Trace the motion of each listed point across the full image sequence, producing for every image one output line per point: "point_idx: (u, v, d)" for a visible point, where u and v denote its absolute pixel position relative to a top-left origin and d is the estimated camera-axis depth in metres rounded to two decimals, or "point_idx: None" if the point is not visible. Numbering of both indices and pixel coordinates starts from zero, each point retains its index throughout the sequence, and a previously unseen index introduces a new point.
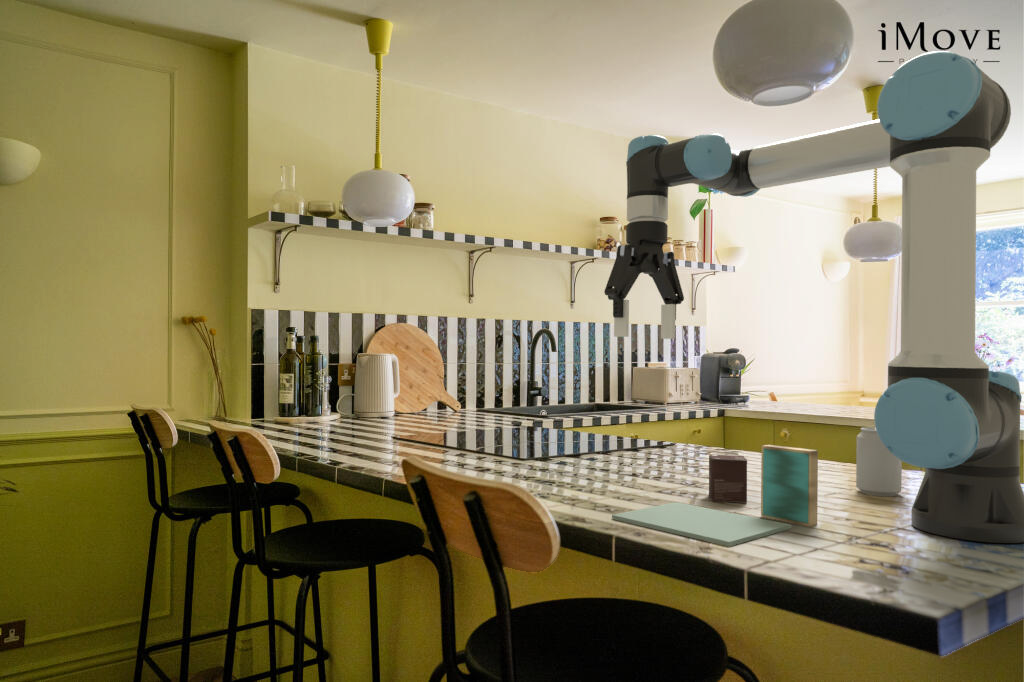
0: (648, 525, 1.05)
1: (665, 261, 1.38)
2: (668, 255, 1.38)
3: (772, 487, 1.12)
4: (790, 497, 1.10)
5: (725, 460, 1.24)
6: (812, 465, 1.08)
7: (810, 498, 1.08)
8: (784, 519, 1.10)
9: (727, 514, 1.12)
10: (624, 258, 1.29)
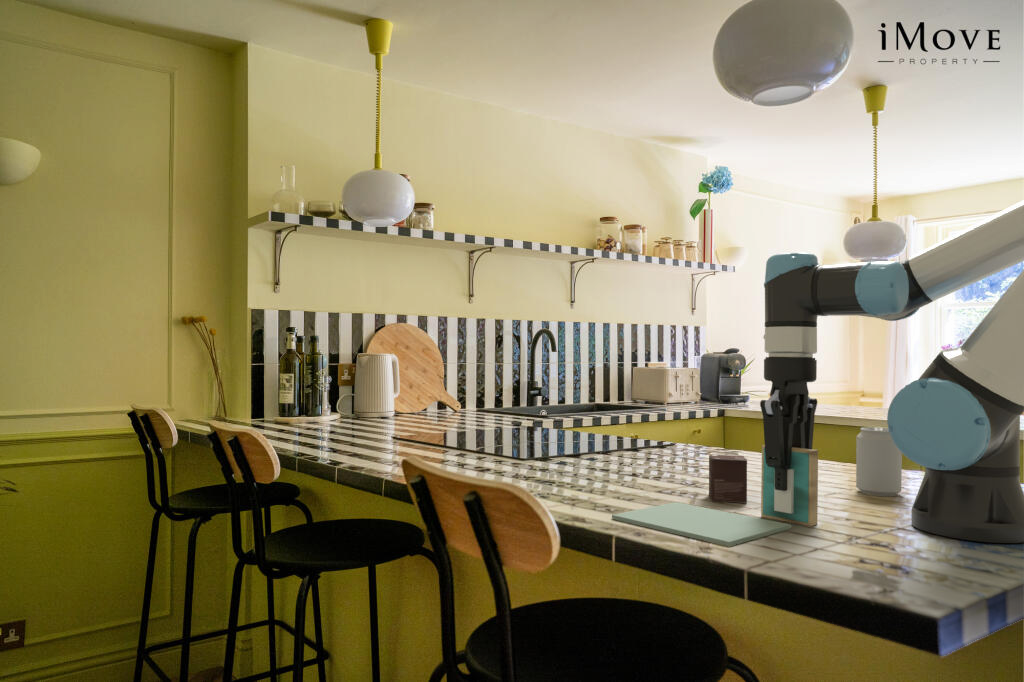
0: (648, 525, 1.05)
1: None
2: (811, 401, 1.14)
3: (772, 487, 1.12)
4: None
5: (725, 460, 1.24)
6: (812, 465, 1.08)
7: (810, 498, 1.08)
8: (784, 519, 1.10)
9: (727, 514, 1.12)
10: (775, 419, 1.07)
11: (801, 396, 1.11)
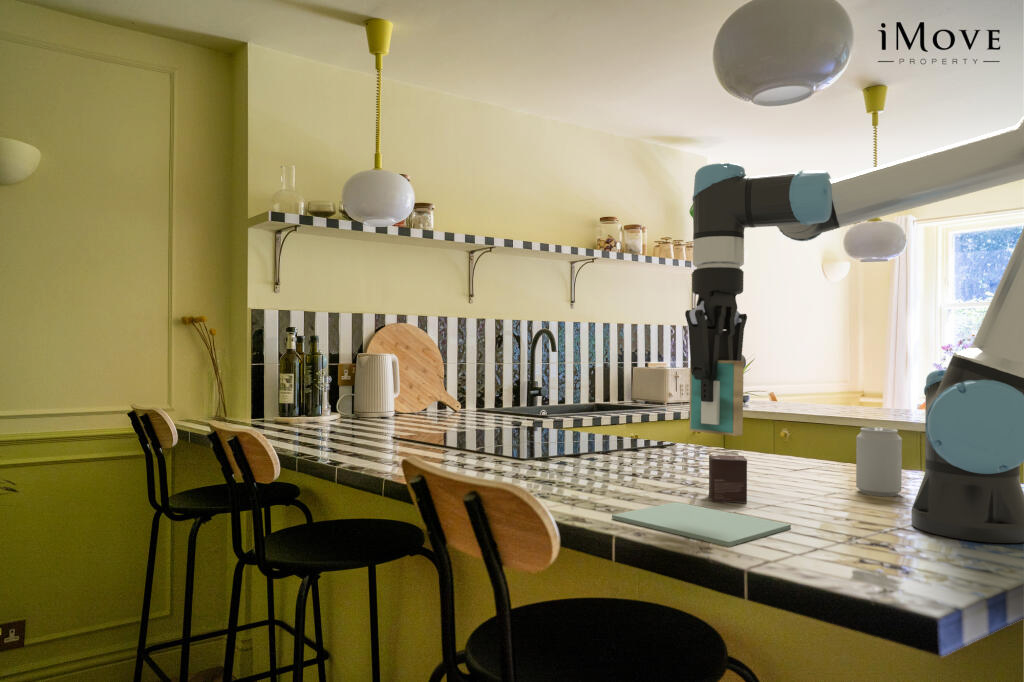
0: (648, 525, 1.05)
1: (735, 320, 1.13)
2: (740, 316, 1.14)
3: (699, 400, 1.12)
4: None
5: (725, 460, 1.24)
6: (736, 375, 1.07)
7: (735, 408, 1.07)
8: (710, 431, 1.10)
9: (727, 514, 1.12)
10: (700, 329, 1.07)
11: (728, 308, 1.10)
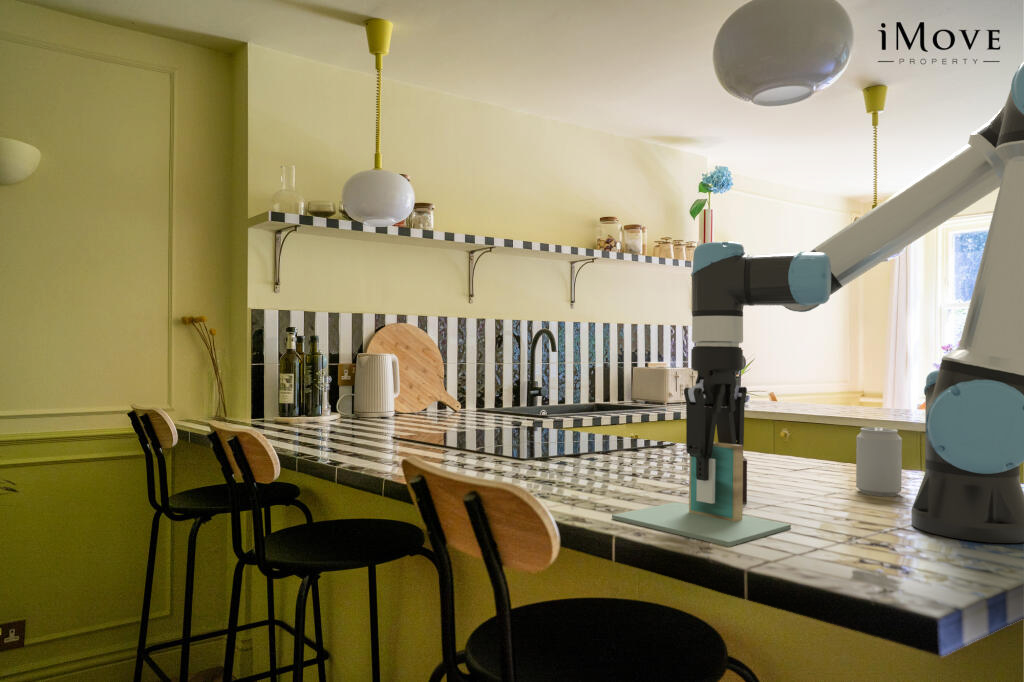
0: (648, 525, 1.05)
1: (735, 394, 1.13)
2: (740, 389, 1.14)
3: None
4: (716, 492, 1.09)
5: None
6: (736, 460, 1.07)
7: (734, 493, 1.07)
8: (710, 514, 1.10)
9: None
10: (697, 407, 1.06)
11: (727, 386, 1.10)
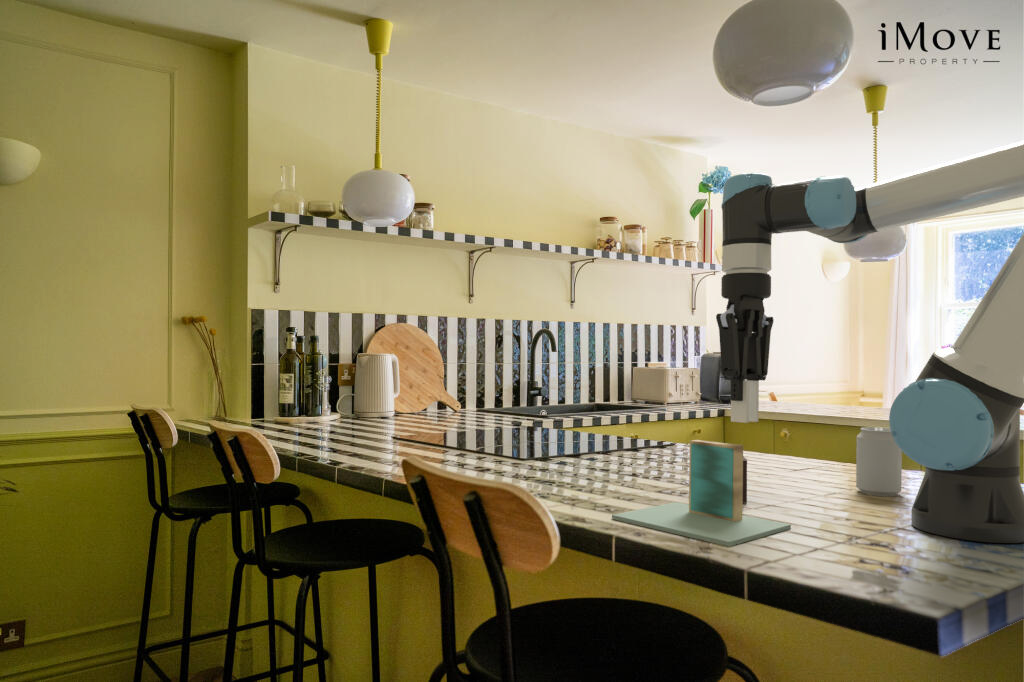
0: (648, 525, 1.05)
1: (762, 323, 1.19)
2: (767, 319, 1.19)
3: (699, 482, 1.12)
4: (716, 492, 1.09)
5: None
6: (736, 460, 1.07)
7: (734, 493, 1.07)
8: (710, 514, 1.10)
9: None
10: (730, 331, 1.12)
11: (756, 312, 1.16)
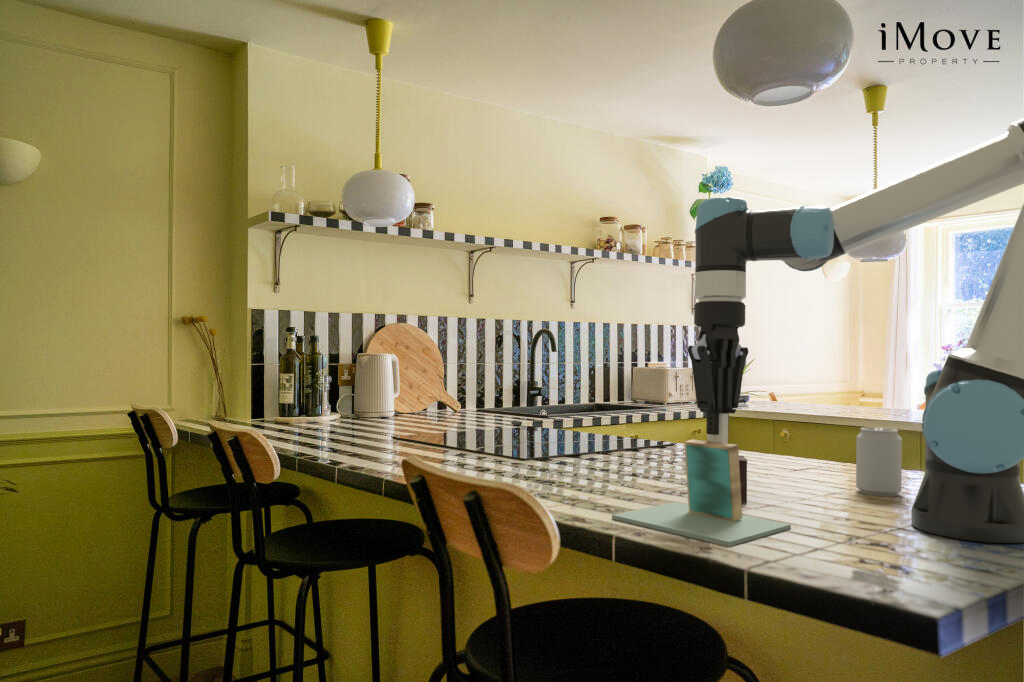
0: (648, 525, 1.05)
1: (736, 353, 1.14)
2: (742, 349, 1.14)
3: (697, 483, 1.11)
4: (714, 493, 1.09)
5: None
6: (732, 461, 1.06)
7: (732, 494, 1.07)
8: (710, 514, 1.10)
9: None
10: (703, 364, 1.07)
11: (730, 341, 1.11)
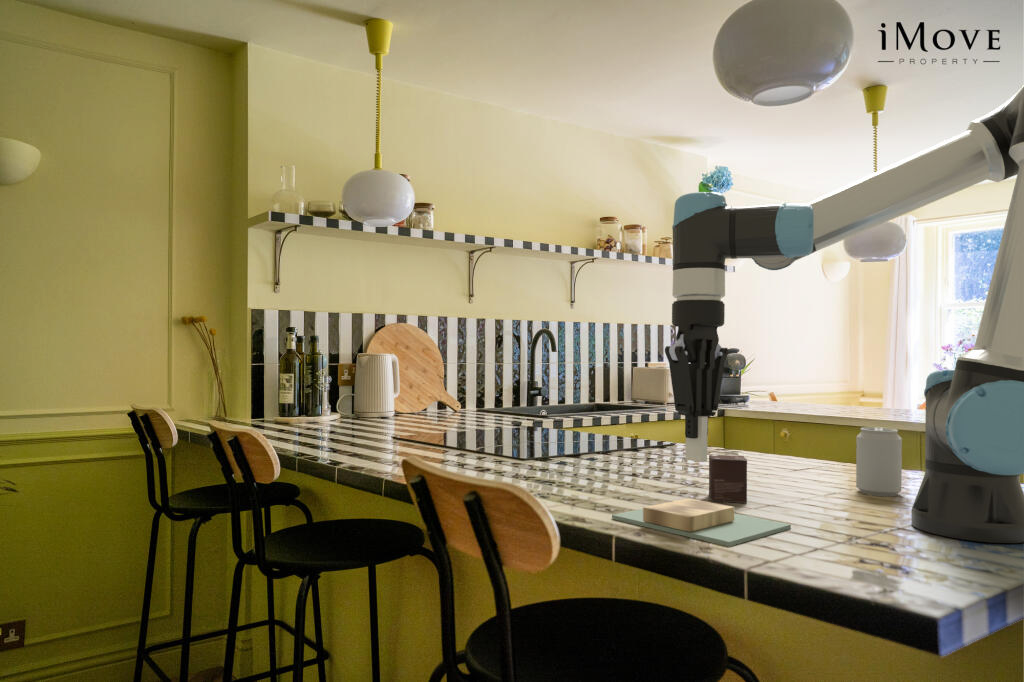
0: (648, 525, 1.05)
1: (715, 353, 1.10)
2: (721, 349, 1.10)
3: None
4: None
5: (725, 460, 1.24)
6: (698, 527, 1.01)
7: (717, 524, 1.04)
8: None
9: None
10: (681, 365, 1.03)
11: (709, 341, 1.07)
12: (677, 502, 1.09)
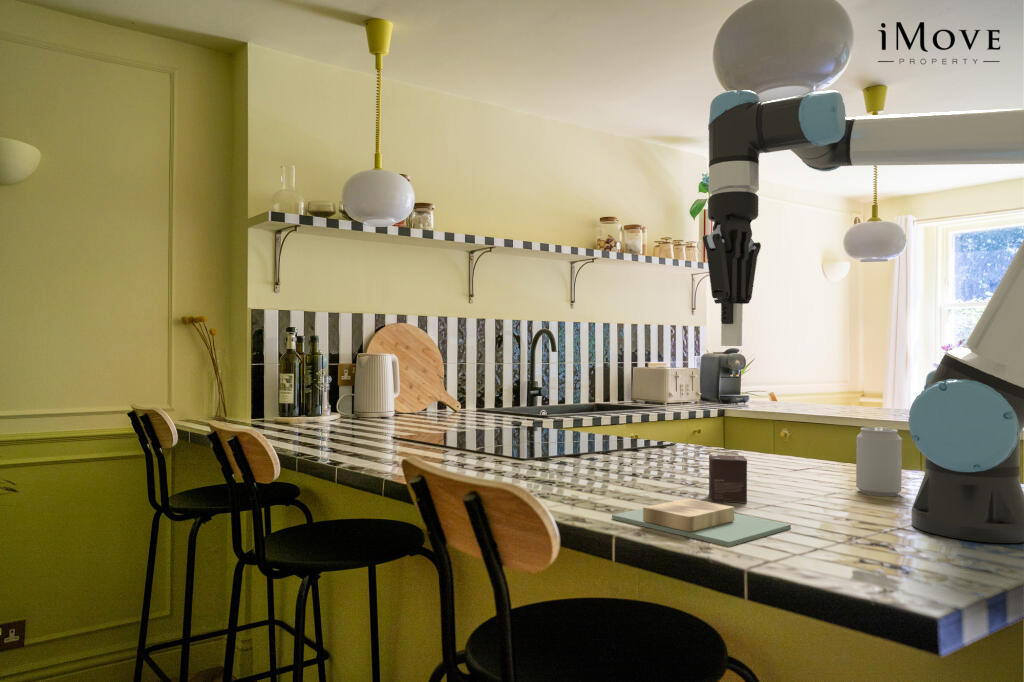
0: (648, 525, 1.05)
1: (749, 247, 1.16)
2: (754, 244, 1.17)
3: None
4: None
5: (725, 460, 1.24)
6: (698, 527, 1.01)
7: (717, 524, 1.04)
8: None
9: None
10: (718, 252, 1.10)
11: (744, 233, 1.13)
12: (677, 502, 1.09)
